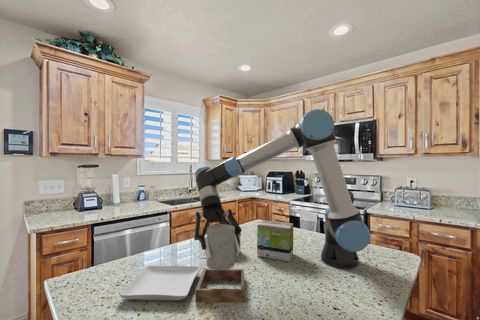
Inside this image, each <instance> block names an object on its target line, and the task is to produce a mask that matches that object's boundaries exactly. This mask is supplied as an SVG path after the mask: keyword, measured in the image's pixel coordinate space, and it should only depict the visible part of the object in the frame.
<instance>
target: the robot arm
mask: <svg viewBox="0 0 480 320" xmlns="http://www.w3.org/2000/svg"><path fill="white" fill-rule="evenodd" d="M334 129H335V120H334V118H333V116H332V115H331V114H330V112H328V111H326V110H324V109H319V108H316V109H312V110H309V111H307V112H306V113H305V114H303V116H302V117H301V119H300V121H298V123H297V124H296V125H293V127H291V128H289V129H288V131H287V132H286V133H283V134H282V135H280V136H278V137H276V138H274V139H272V140H270V141H268V142H266V143H264V144H262V145H260V146H258V147H256V148H254V149H252V150H250V151H249V152H246V153H244V154H242V155H240V156H238V157H234V156H232V157H230V158H228V159H225V160H223V161H222V162H221V163H219V164H217V165H215V166H213V167H209V166H201V167H198V169H197V170H196V171H195V173H194V176H195V177H194V178H195V183H196V186H197V191H198V196H199V200H200V206H201V210H202V212H200V211H196V212H195V216H194V218H195V228H194V235H193V236H194V237H193V239H194V241H199V243H200V246H201V250H202V251H203V250H204V253H205V257H206V261H207V260H209V259H210V257H211V254H210V249H209V244H208V239H207V237H205V236H206V235H207V227H208V226H210V224H212V223H219V224H227V225H232V226H234V227H235V253H236V255H235V256H239V255H240V253H241V247H240V248H239V243H240V244H241V239H240V240H239V237H238V235H240V233H241V234H242V231H243V230H242V228H241V226H240V224H239V223H238V221H237V220H236V218H235V216H234V215H233V211H232V209H230V208H229V209H228V210H225V209H224V208H223V205H222V201H221V198H220V194H219V191H218V187H217V186H219V185H221V184H223V183H225V182H227V181H229V180H231V179H234V178H236V177H239V175H242V174H244V173H246V172H248V171H250V170H252V169H254V168H257V167H259V166H260V165H263V164H264V163H266V162H269V161H270V160H273V159H274V158H277V157H279V156H280V155H283V154H285V153H287V152H289V151H291V150H293V149H296V148H297V149H300V148H302V147H304V146H305V149H306V150H307V151H308V152H310V153H311V155H312V159H313V162H314V165H315V169H316V171H317V175H318V178H319V180H320V184H321V187H322V189H323V193H324V197H325V199H326V203H327V205H328V206H327V207H328V208H327V207H326V209H325V212H324V224H325V225H324V229H325V232H324V234H325V235H324V237H325V238H324V244H323V248H322V250H321V255H320V260H321V261H322V262H323V263H324V264H326V265H329V266H330V267H333V268H339V269H355V268H357V267H358V266H359V265H360V259H359V256H358V252H360V251H362V250H365V248H366V247H367V246H368V245H369V244H370V242H371V238H372V237H371V232H370V229H369V228H368V226H367V224H366V223H364V221H363V218H362V214H361V212H360V209H359V208H357V207H355V206H354V203H353V202H352V197H351V194H350V191H349V189H348V185H347V182H346V179H345V175H344V174H343V170H342V167H341V164H340V161H339V158H338V155H337V151H336V148H335V144H336V142H337V137H336V134H335V130H334ZM202 218H204V219H205V221H206V222H205V224H204V227H203V229H202V232H201V234H200V229H201V220H202ZM227 219H228V220H227Z"/></svg>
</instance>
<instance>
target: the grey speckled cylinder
mask: <svg viewBox="0 0 480 320" xmlns="http://www.w3.org/2000/svg"><path fill="white" fill-rule="evenodd" d="M206 238H207V239H208V244H209V249H210V254H211V257H210V259H209V260H207V259H206V267H207V269H213V270H227V269H233V268H234V267H235V265H236V264H235V256H236V255H235V227H234V226H232V225H227V224H220V223H219V224H212V225H209V226H208V227H207V231H206Z"/></svg>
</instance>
